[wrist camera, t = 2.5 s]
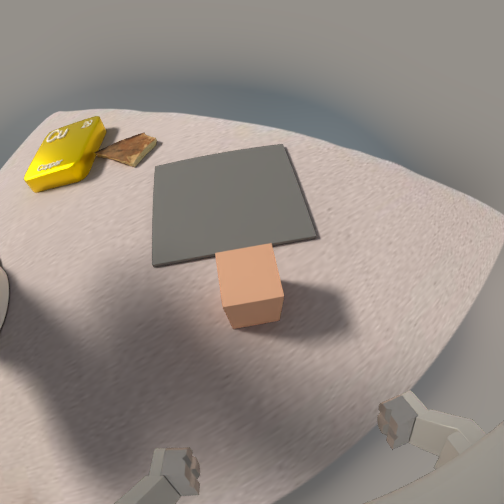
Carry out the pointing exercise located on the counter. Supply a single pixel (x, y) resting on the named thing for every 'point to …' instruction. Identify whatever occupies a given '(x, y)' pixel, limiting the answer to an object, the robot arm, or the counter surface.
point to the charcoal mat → (226, 204)
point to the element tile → (66, 155)
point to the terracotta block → (250, 285)
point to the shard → (129, 149)
